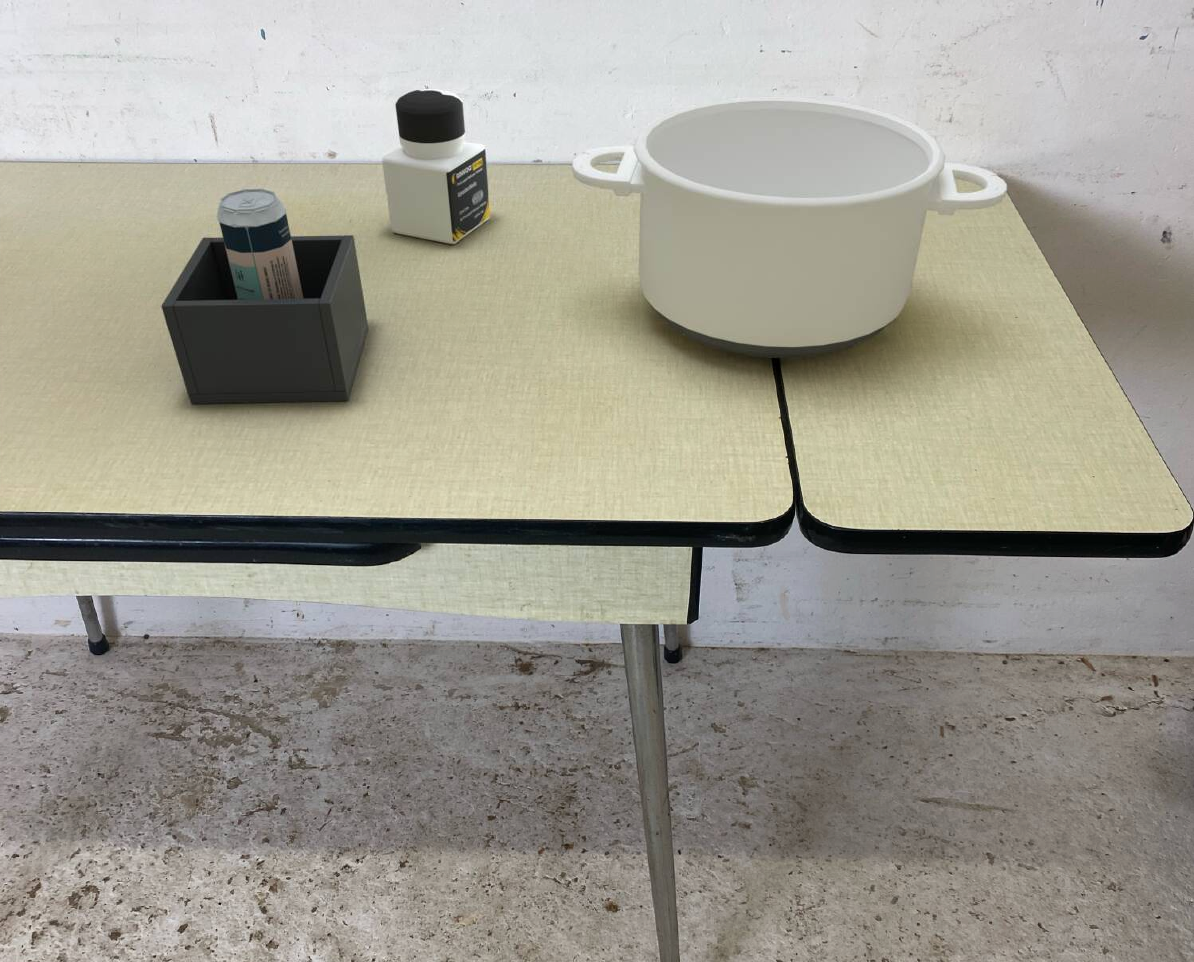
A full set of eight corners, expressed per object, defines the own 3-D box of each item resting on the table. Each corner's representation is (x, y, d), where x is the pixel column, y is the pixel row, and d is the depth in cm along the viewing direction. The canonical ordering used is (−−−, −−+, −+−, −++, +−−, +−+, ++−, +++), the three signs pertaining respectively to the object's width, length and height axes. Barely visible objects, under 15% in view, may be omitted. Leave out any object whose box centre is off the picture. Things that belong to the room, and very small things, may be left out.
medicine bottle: (454, 246, 98) (441, 111, 90) (390, 233, 100) (372, 100, 92) (491, 218, 103) (482, 88, 95) (429, 207, 105) (415, 79, 97)
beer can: (318, 337, 83) (288, 185, 75) (309, 367, 80) (277, 211, 72) (257, 339, 83) (220, 187, 75) (246, 369, 79) (206, 213, 71)
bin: (190, 404, 77) (160, 305, 72) (226, 330, 86) (202, 237, 81) (348, 401, 77) (329, 302, 72) (368, 327, 86) (353, 234, 81)
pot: (958, 264, 95) (996, 104, 85) (986, 397, 77) (1038, 215, 68) (597, 241, 99) (596, 86, 90) (548, 362, 82) (541, 186, 73)
